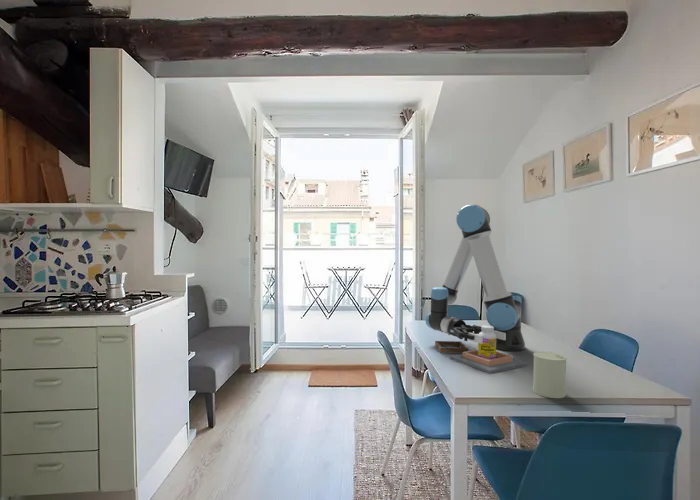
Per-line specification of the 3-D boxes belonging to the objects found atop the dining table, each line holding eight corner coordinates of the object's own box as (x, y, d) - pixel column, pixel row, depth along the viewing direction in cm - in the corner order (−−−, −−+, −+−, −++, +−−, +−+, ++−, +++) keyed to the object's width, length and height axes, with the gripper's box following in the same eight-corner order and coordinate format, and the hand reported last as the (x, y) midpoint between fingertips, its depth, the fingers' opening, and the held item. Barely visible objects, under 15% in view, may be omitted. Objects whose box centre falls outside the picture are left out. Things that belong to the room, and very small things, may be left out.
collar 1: (435, 345, 174) (435, 340, 174) (460, 345, 174) (461, 341, 174) (440, 352, 162) (440, 347, 162) (468, 353, 162) (468, 348, 162)
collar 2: (462, 357, 153) (462, 352, 153) (485, 352, 159) (486, 348, 159) (488, 366, 141) (488, 361, 141) (512, 361, 148) (512, 356, 148)
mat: (449, 358, 154) (449, 355, 154) (485, 352, 164) (485, 349, 164) (489, 373, 137) (489, 370, 137) (526, 365, 146) (526, 362, 146)
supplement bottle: (477, 360, 148) (478, 327, 148) (477, 356, 154) (478, 324, 154) (496, 362, 146) (496, 328, 146) (495, 357, 152) (496, 325, 152)
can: (565, 400, 113) (565, 360, 113) (530, 394, 118) (531, 355, 118) (566, 390, 121) (567, 353, 121) (534, 384, 126) (535, 348, 126)
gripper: (474, 332, 172) (515, 344, 152) (431, 337, 161) (470, 351, 141) (474, 316, 171) (515, 326, 152) (432, 320, 160) (470, 331, 141)
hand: (493, 338), depth 147 cm, fingers open, 12 cm apart
